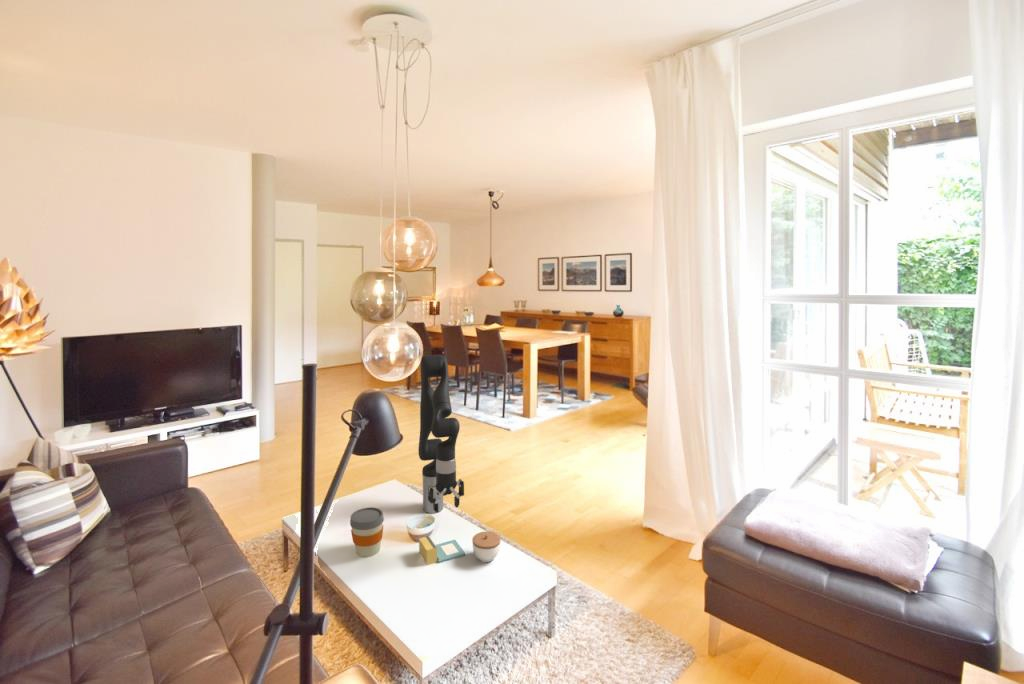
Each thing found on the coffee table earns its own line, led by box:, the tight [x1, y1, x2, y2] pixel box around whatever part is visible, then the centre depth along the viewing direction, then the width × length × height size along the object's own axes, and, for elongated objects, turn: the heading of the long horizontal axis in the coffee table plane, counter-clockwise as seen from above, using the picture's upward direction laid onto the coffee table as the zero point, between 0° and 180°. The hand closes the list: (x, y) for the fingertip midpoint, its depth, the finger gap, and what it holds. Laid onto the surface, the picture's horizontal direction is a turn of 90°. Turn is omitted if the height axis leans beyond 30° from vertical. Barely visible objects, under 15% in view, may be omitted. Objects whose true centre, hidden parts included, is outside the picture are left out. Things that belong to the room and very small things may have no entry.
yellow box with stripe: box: [418, 535, 438, 566], centre depth 187 cm, size 9×4×6 cm, turn 29°
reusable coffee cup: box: [349, 507, 385, 558], centre depth 190 cm, size 13×13×15 cm
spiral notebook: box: [435, 539, 467, 564], centre depth 191 cm, size 11×11×1 cm
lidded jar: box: [472, 531, 501, 563], centre depth 187 cm, size 11×11×9 cm
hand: (446, 509), depth 188 cm, fingers open, 7 cm apart
